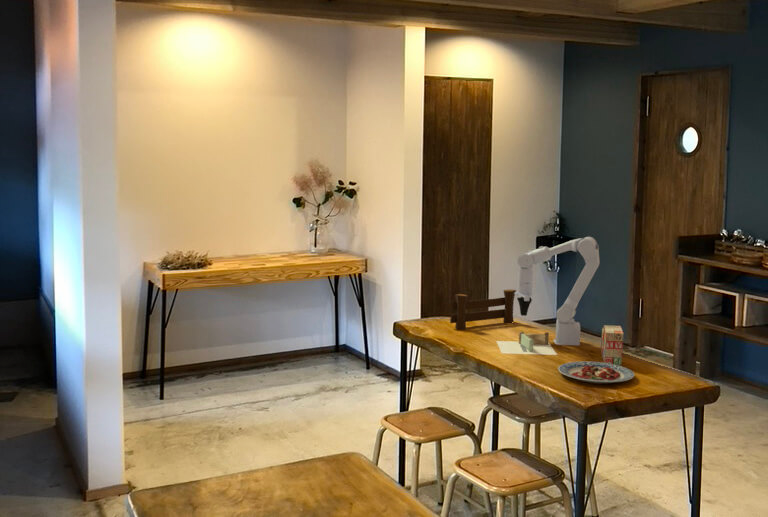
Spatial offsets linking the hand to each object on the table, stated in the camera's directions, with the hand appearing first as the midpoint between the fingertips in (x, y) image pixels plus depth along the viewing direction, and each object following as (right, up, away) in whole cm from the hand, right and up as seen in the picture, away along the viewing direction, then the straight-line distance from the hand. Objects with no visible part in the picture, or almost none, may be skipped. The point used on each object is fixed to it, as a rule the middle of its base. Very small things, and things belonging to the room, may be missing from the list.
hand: (523, 315), depth 351 cm
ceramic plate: (+16, -18, -52) cm, 58 cm away
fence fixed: (+2, -11, -9) cm, 14 cm away
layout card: (-2, -12, -15) cm, 19 cm away
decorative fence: (-13, -7, +25) cm, 29 cm away
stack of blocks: (+29, -15, -26) cm, 41 cm away
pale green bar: (-1, -11, -16) cm, 20 cm away
